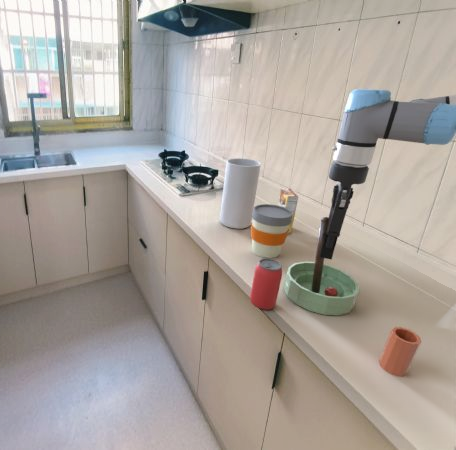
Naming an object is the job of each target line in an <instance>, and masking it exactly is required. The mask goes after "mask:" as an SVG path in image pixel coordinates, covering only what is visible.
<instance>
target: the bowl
mask: <svg viewBox="0 0 456 450" xmlns="http://www.w3.org/2000/svg"><path fill="white" fill-rule="evenodd" d="M314 266H315V261H300V262H294V263H293V264H291V265H289V266H288V267H287V272H286V276H285V280H284V281H285V282H284V285H283V291H284V293H285V295H286V296H287V298H288V299H289V300H290V301H292V302H293V303H294V304H296V305H297V306H299V307H301V308H303V309H305V310H307V311H310V312H313V313H316V314H320V315H323V316H335V317H336V316H337V317H338V316H342V315H346V314H349V313H350V312H351V311H352V310H353V309H354V308H355V305H356V302H357V299H358V296H359V294H360V286H359V283H358V282H357V281H356V279H355V278H354V277H353V276H352V275H350V274H348V273H347V272H346V271H343V270H342V269H340V268H337V267H335V266H332V265H330V264H327V263H324V264H323V271H322V278H321V285H320V291H319V294H318V293H314V292H312V291H311V288H312V281H313V273H314ZM327 287H334V288H335V289H336V290H337V291H338V295H337V297H334V296H326V295H325V293H324V291H325V289H326V288H327Z"/></svg>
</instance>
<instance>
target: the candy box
mask: <svg viewBox="0 0 456 450" xmlns="http://www.w3.org/2000/svg"><path fill="white" fill-rule="evenodd" d="M298 201H299V196H298V195H297V194H296V193H295V192H294V191H293V190H292V188H280V191H279V197H278V203H277V206H281V207H284V208H287V209H289V210H290V211H291V212H292V222H291V224H290V225H289V232H288V234H292V231H293V225H294V220H295V215H296V211H297V205H298Z"/></svg>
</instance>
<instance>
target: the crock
mask: <svg viewBox="0 0 456 450" xmlns="http://www.w3.org/2000/svg"><path fill="white" fill-rule="evenodd" d="M421 344H422V339H421V337H420V336H419V335H418V333H416V332H414V331H413V330H411V329H408V328H406V327H402V326H394V327H393V328H391V330H390V333H389V335H388V338H387V339H386V342H385V344H384V347H383V349H382V352H381V354H380V356H379V359H378V363H379V366H380V367H381V369H383V370H384V371H385V372H386V373H388V374H390V375H392V376H395V377H405V376H406V375H407V374H408V372H409V369H410V368H411V365H412V363H413V361H414V359H415V357H416V354H417V352H418V350H419V348H420V345H421Z"/></svg>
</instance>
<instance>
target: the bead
mask: <svg viewBox="0 0 456 450" xmlns="http://www.w3.org/2000/svg"><path fill="white" fill-rule="evenodd" d="M324 293H325V295H326V296H334V297H337V295H338V291H337V290H336V289H335V288H334V287H327V288H326V289H325V291H324Z"/></svg>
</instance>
